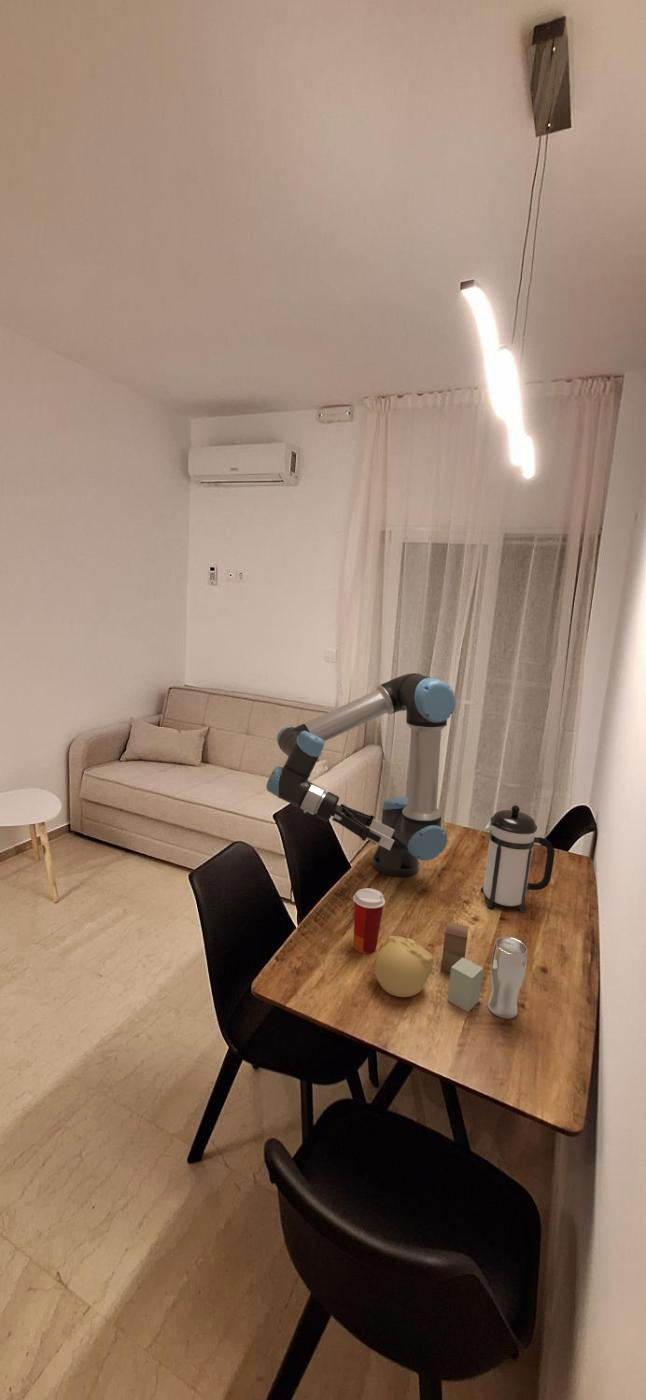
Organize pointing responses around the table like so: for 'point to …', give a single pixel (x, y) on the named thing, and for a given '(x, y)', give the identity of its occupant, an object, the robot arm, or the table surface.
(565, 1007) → the table surface
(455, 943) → the walnut block
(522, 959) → the beer glass
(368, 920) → the paper cup
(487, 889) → the coffee press
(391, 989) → the sculpture
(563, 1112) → the table surface
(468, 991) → the sage block
